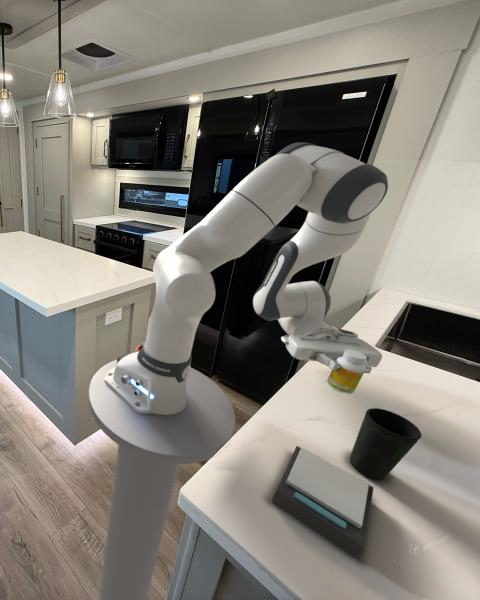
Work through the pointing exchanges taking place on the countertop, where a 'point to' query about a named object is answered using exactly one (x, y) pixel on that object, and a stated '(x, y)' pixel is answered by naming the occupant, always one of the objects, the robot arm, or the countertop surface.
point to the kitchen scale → (326, 500)
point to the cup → (382, 443)
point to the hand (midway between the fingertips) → (352, 369)
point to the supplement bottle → (348, 372)
